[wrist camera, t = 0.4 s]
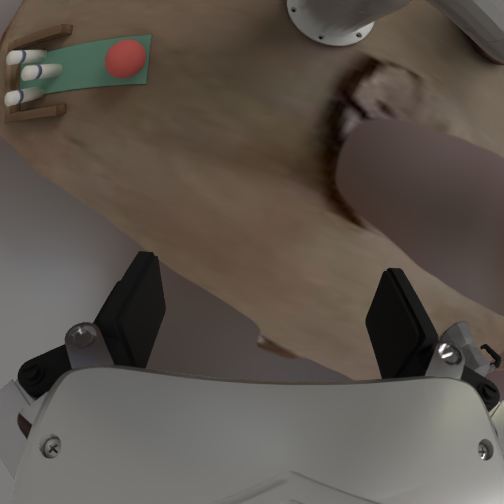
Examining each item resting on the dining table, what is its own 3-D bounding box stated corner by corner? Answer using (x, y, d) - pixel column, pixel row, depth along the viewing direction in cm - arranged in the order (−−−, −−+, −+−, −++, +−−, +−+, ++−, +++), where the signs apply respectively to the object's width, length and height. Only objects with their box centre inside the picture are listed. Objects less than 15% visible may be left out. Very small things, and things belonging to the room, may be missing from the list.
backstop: (18, 42, 28) (8, 43, 26) (72, 25, 29) (62, 23, 26) (15, 119, 37) (5, 123, 34) (66, 112, 37) (55, 115, 35)
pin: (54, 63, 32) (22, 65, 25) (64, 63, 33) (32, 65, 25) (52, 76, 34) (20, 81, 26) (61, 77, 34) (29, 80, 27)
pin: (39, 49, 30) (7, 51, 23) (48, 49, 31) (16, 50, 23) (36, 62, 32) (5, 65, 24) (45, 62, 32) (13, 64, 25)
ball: (122, 40, 32) (103, 36, 27) (156, 43, 33) (141, 39, 27) (112, 76, 35) (92, 76, 30) (146, 80, 36) (129, 81, 31)
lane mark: (151, 34, 32) (151, 34, 31) (146, 83, 36) (146, 83, 36) (14, 62, 31) (14, 62, 30) (13, 100, 35) (12, 100, 35)
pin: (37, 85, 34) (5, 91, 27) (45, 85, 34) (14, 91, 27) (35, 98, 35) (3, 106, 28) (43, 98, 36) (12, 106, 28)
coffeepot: (433, 352, 65) (454, 404, 50) (435, 331, 61) (461, 387, 46) (477, 332, 62) (502, 380, 47) (482, 310, 57) (512, 360, 42)
